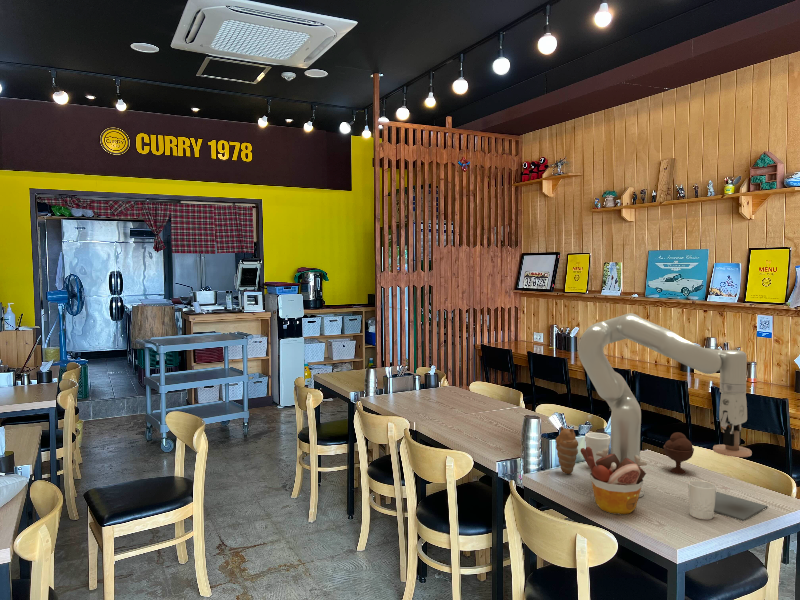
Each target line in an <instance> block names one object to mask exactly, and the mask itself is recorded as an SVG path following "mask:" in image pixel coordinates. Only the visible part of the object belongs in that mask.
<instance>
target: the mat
mask: <svg viewBox="0 0 800 600" xmlns="http://www.w3.org/2000/svg"><path fill="white" fill-rule="evenodd" d="M767 507H768V508H769V505H767V504H766V505H765V504H763V503H758V502H755V501H752V500H748V499H745V498H741V497H737V496H733V495H730V494H726V493H723V492H719V491H716V497H715V508H714V513H715V514H719V515H722V516H725V515H726V517H728V516H729V518H733V519H735V518H736V520H738V519H739V520H738V521H741V520H742V522H745V521H747V520H748V519H750V518H752V517H754V516H755V514H756V513H757V514H759V513H761V512H763V511H764V510H763V509H765V508H766V509H768V508H767ZM766 509H765V510H766ZM762 510H763V511H762ZM760 511H761V512H760ZM758 512H759V513H758ZM757 514H756V515H757ZM753 515H754V516H753ZM751 516H752V517H751ZM749 517H750V518H749ZM746 519H747V520H746ZM744 520H745V521H744Z"/></svg>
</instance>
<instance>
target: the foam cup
mask: <svg viewBox="0 0 800 600" xmlns="http://www.w3.org/2000/svg"><path fill="white" fill-rule="evenodd" d="M584 436H585V438H584V441H585V446H586V447H590V448H591V449H592V453H593V457H594V461H595V462H596V461H597V460H598V459H600V458H601V456H597V455H596V453H597V452H598V451H601V452H602V453H603V449H605V448H607V449H608V453H607V455H609V451H610V450H609V449H610V445H611V435H609V434H607V433H601V432H587V433H585V435H584ZM595 465H596V463H595ZM596 466H597V465H596Z"/></svg>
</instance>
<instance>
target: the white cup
mask: <svg viewBox="0 0 800 600" xmlns="http://www.w3.org/2000/svg"><path fill="white" fill-rule="evenodd" d="M687 489H688V492H687V493H688V496H687V499H688V506H689V507H688V508H689V509H688V510H689V515H690V516H691V517H693V518H696V519H700V520H706V521H707V520H712V519H713V518H714V516H715V515H714V513H715V512H714V508H715V497H716V492H717V485H716V484H715V483H713V482H710V481H706V480H700V479H692V480H689V481H688V482H687Z"/></svg>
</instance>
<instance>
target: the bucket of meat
mask: <svg viewBox="0 0 800 600" xmlns="http://www.w3.org/2000/svg"><path fill="white" fill-rule="evenodd" d="M607 453H608V455H607ZM580 454H581V455H582V457H583V459H584V461H585V462H586V464H587V465H588V466H587V467H588V469H589V468H590V469H589V470H590V473H589V477H590V481H591V487H592V492H593V496H594V500H595V502H594V503H596V505H597V507H598V508H600V510H601V511H604V512H605V511H606V513H608V512H609V513H608V514H611V513H613V514H612V515H620V514H623V515H628V514H630V513H632V512H633V511H634V510H635V509H636V508H637V505H638V500H639V498H640V497H639V494H640V490H641V488H642V486H643V484H644V478H645V476H646V474H647V473H646V471H645V470H643V468H642V467H645V466H647V465H648V463H647V461H646V460H644V459H641V456H640V457H639V456H637V455H635V456H634V458H635V462H633V461H632V460H630V459H628V458H625V459H624V460H623V461H622V462H621V463H620V462H619V460H618V458H617V456H616V455H615V454H611V453H609V451H608V449H607V448H605V449H603V453H602V452H601V451H598V452H597V453H596V455H597V456H601V458H600V459H598V460H597V461H596V462H595V461H594V457H593V453H592V449H591V448H590V447H586V448H584V447H582V448H580ZM595 463H596V465H597V466H596V465H595ZM639 466H640V467H639ZM641 466H642V467H641Z"/></svg>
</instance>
